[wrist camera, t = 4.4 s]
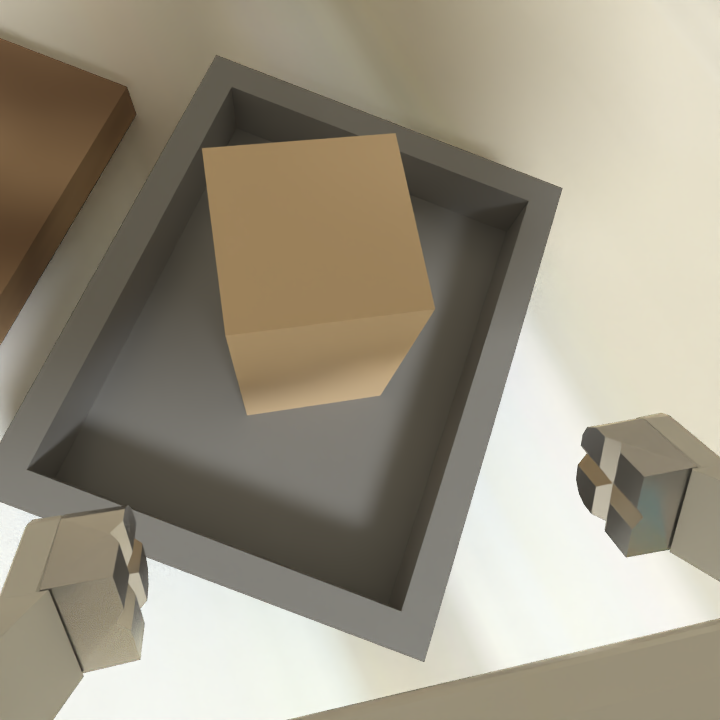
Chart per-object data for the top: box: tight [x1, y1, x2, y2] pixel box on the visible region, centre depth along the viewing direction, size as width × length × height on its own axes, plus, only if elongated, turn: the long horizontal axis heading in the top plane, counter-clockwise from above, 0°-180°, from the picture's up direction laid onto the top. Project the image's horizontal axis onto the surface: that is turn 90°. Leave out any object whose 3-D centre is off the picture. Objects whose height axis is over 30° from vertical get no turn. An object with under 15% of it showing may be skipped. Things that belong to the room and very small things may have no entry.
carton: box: [202, 133, 435, 415], centre depth 17 cm, size 5×4×8 cm
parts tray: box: [0, 55, 562, 662], centre depth 21 cm, size 16×13×3 cm
